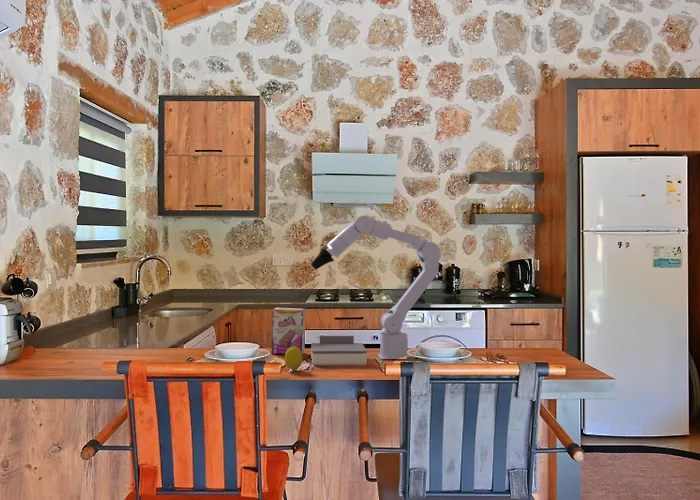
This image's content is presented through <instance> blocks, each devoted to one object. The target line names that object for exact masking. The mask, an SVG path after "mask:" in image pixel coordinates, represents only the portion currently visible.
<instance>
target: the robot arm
mask: <svg viewBox="0 0 700 500" xmlns="http://www.w3.org/2000/svg"><path fill="white" fill-rule="evenodd" d="M363 234H367V235H368V236H371V237H375V238H377V239H381V240H388V239H390V238H391V239H393V240H397V241H400V242H402V243H406V244H408V245H410V246H411V247H412V249H413V250H416V255H417V257H418V258H419V260H420V262H421V268H422V270H421V272H419V274H418V276H417V277H416V278H415V280H414V281H412V283H411V284H410V286H409V287H408V288H407V290H406V291H405V292H404V293H403V295H402V296H401V297H400V298H399V300H398V302H396V304H395V305H393V306H392V307H391V308H390V309H389V310H388V311H387V312H385V313H383V314H382V316H380V321H379V322H380V325H381V326H382V329H381V330H380V347H379V348H380V350H379V351H380V353H378V354H377V356H378V357H379V359H380V358H381V359H396V358H398V357H402V356H406V355H407V351H408V347H409V344H408V343H409V341H408V334H407V333H406V332H402V330H401V329H402V326H403V322H404V321H405V320H406V318H407V316H408V315H407V314H408V313H409V311H410V310H411V309H412V308H413V306H414V305H415V303H416V302H418V299H419V298H420V297H421V296H422V295H423V293H424V292H425V291H426V290H427V288H428V287H429V286H430V284H431V283H432V282H433V281H434V279H435V278H436V276H437V275H438V273H439V267H440V266H439V265H440V259H441V257H442V255H441V251H440V248H439V245H438V244H437V243H436V242H432V241H429V240H428V239H426V238H424V237H421V236H419V235H415V234H411V233H408V232H404V231H401V230H398V229H393V227H392V226H391V224H390V223H388V221H387V220H384V221H379V220H376V219H374V217H369V216H367V215H366V216H364V215H361V216H358V217H356V218H355V219H354V220H353V222H351V223H350V224H349V225H348V226H346V227H345V228H344V229H343V230H342V231H341V232H339V233H338V234H337V235H336V236H334V238H332V239H331V240H330V241H329V242H327V241H326V240H325V241H324V244H325V246H326V248H327V249H326V248H325V247H322V248H321V250H320V251H319V253H318V255H317V256H316V257H315V258H314V259H313V261H312V262H311V266H312V267H313V269H314V270H315V271H316V270H318V269H320V268H321V267H323V266H325V265H327V264H328V263H329V264H330V263H331V262H334V261H335V260H334V258H333V256H335V257H336V258H339V256H340V255H342V253H344V252H345V251H346V250H347V249H349V247H350V246H352V245H353V244H354V243H355V242H357V240H358V239H359V238H360V237H361V236H362V235H363ZM407 356H408V355H407ZM381 359H380V360H381Z"/></svg>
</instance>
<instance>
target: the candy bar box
mask: <svg viewBox="0 0 700 500" xmlns="http://www.w3.org/2000/svg"><path fill="white" fill-rule="evenodd" d="M305 325H306V309H305V308H293V307H292V308H291V307H290V308H289V307H275V308H273V309H272V331H271V332H272V333H271V334H272V337H271V338H272V340H271V342H272V343H271V344H272V345H271V353H272V355H285V354H286V351H287V350H288V349H289V348H290V347H292V346H295V347H297V348H299V349H300V350H301V352H302V355H304V354H305V342H306V341H305V339H306V338H305V336H306V335H305V330H306V329H305V327H306V326H305Z"/></svg>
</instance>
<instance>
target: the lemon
mask: <svg viewBox="0 0 700 500" xmlns="http://www.w3.org/2000/svg"><path fill="white" fill-rule="evenodd" d="M284 363H285V365H286V366H287V367H286V368H288V369H290V370H292V372H295V371H296V370H297V369H299V368H300V367H301V365H302V364H303V354H302V352H301V350H300V349H299V348H297V347H295V346H292V347H290V348H289V349H288V350H287V351H286V354H285V356H284Z"/></svg>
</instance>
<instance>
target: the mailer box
mask: <svg viewBox="0 0 700 500" xmlns="http://www.w3.org/2000/svg"><path fill="white" fill-rule="evenodd" d="M367 355H368V352H367V353H312V347H311V346H310V360H311V359H312V361H311V365H312V364H313V365H319V366H318V367H340V366H343V367H345V366H350V367H351V366H352V367H353V366H355V367H356V366H358V367H361V366H363V367H364V366H368V364H367V361H368V358H367V357H368V356H367Z"/></svg>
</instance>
